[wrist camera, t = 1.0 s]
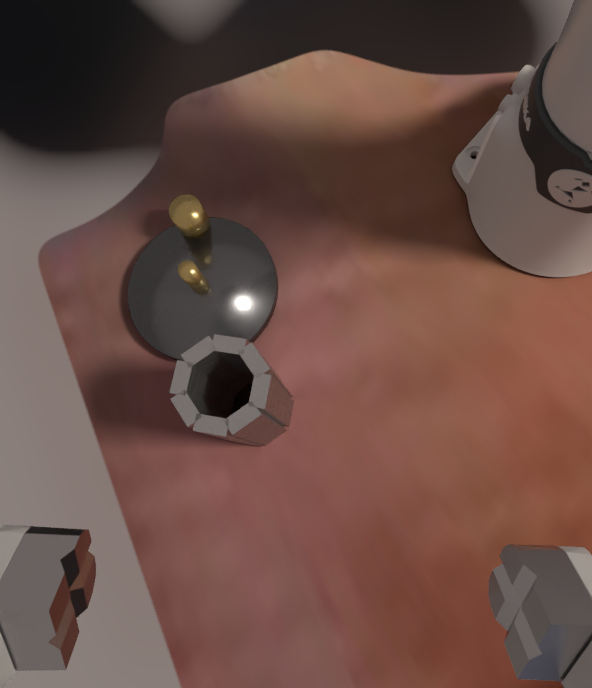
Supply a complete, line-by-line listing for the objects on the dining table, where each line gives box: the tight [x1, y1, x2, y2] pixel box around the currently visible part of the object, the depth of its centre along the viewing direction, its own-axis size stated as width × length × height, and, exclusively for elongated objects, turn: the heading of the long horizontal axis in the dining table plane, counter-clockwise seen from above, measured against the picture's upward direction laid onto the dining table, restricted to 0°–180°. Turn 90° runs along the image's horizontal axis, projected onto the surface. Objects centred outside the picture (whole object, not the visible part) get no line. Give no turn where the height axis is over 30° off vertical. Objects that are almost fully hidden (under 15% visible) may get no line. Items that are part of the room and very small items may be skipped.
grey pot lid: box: [128, 194, 278, 361], centre depth 45 cm, size 14×14×5 cm
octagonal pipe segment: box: [169, 334, 294, 447], centre depth 38 cm, size 6×6×12 cm
